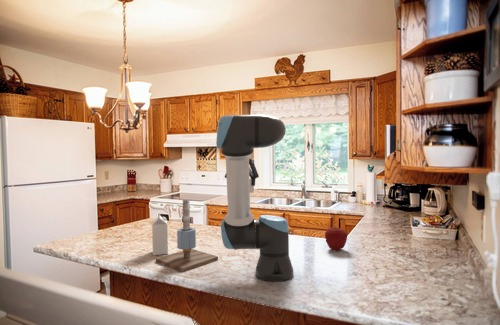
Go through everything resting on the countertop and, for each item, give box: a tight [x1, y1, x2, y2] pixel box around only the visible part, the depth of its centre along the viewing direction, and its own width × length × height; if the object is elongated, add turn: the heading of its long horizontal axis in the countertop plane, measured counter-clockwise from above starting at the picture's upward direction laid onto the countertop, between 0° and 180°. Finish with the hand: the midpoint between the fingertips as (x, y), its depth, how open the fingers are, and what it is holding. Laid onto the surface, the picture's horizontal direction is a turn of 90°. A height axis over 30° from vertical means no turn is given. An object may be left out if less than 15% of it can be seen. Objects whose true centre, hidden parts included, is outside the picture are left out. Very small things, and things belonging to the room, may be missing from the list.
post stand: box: [155, 198, 219, 273], centre depth 147 cm, size 20×20×28 cm
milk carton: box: [151, 214, 169, 256], centre depth 159 cm, size 7×7×19 cm
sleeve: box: [176, 227, 197, 251], centre depth 147 cm, size 8×8×8 cm
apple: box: [324, 226, 348, 252], centre depth 161 cm, size 11×11×12 cm
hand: (240, 192), depth 159 cm, fingers open, 13 cm apart
